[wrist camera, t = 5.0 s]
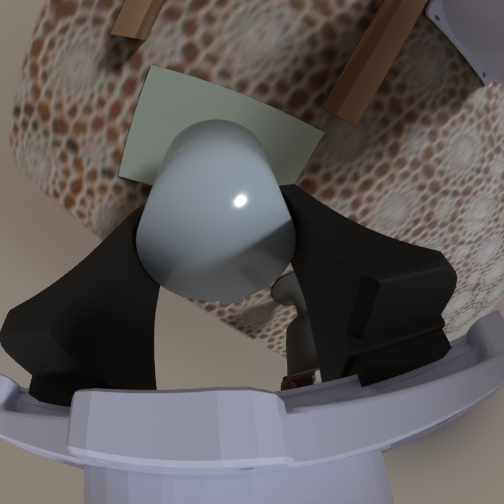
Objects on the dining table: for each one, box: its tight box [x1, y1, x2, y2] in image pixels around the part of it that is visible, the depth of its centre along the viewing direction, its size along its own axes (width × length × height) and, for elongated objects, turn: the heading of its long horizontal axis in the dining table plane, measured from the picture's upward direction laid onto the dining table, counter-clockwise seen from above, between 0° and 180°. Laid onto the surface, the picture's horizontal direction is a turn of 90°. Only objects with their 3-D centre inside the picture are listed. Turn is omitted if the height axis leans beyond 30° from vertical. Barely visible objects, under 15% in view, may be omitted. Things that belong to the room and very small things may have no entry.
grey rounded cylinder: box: [136, 119, 296, 305], centre depth 11 cm, size 7×5×6 cm
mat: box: [118, 65, 324, 186], centre depth 17 cm, size 12×8×1 cm, turn 65°
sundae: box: [272, 272, 322, 391], centre depth 21 cm, size 7×7×15 cm
